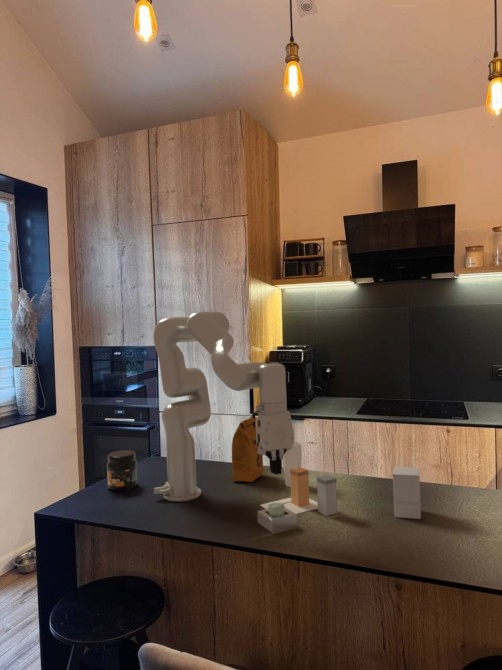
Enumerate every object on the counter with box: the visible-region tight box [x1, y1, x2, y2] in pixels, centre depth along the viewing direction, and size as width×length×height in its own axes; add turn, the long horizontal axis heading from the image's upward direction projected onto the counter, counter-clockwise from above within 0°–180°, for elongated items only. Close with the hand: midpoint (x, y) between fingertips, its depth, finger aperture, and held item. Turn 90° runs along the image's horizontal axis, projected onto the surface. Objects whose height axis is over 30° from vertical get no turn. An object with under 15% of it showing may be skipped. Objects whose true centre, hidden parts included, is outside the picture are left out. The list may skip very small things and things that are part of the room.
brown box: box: [290, 466, 310, 507], centre depth 148 cm, size 4×4×11 cm
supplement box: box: [392, 466, 422, 520], centre depth 138 cm, size 7×7×13 cm
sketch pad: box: [259, 497, 318, 515], centre depth 147 cm, size 16×12×1 cm
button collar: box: [256, 507, 298, 534], centre depth 134 cm, size 8×8×4 cm
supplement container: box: [106, 449, 138, 492], centre depth 171 cm, size 10×10×12 cm
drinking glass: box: [282, 440, 303, 488], centre depth 166 cm, size 7×7×15 cm
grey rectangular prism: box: [316, 474, 338, 517], centre depth 141 cm, size 4×4×11 cm
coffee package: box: [231, 416, 264, 483], centre depth 176 cm, size 10×12×22 cm
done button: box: [269, 503, 285, 518], centre depth 133 cm, size 4×4×4 cm
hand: (276, 472), depth 133 cm, fingers closed
